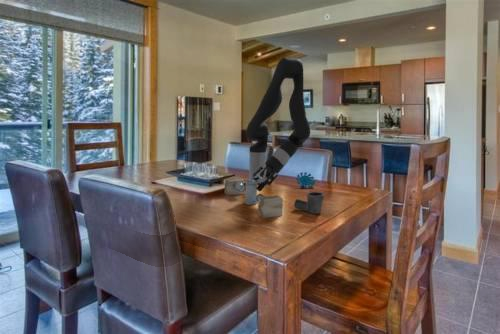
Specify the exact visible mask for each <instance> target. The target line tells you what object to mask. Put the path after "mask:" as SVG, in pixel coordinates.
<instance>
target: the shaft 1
mask: <svg viewBox="0 0 500 334" xmlns="http://www.w3.org/2000/svg"><path fill="white" fill-rule="evenodd" d="M233 188H234V189H235V190H237V191H239V192H244V193H245V192H246V185H245V184H244V185H242V184H240V183H238V182H234V183H233Z"/></svg>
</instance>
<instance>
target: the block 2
mask: <svg viewBox="0 0 500 334" xmlns="http://www.w3.org/2000/svg"><path fill="white" fill-rule="evenodd" d="M283 205H284V198H283V197H282V196H280V195H277V194H273V195H264V196H263V197H258V202H257V214H258V215H259V216H260V217H261V218H263V219H267V218H273V217H282V216H283V209H284V208H283Z"/></svg>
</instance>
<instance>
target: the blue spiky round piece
mask: <svg viewBox="0 0 500 334" xmlns="http://www.w3.org/2000/svg"><path fill="white" fill-rule="evenodd" d="M307 174H308V175H307ZM295 180H296V181H297V182H296V184H297V185H299V187H300V188H302V187H303V188H304V189H307V188H308V189H311V188H312V187H314V185H315V184H316V183H317V181H318V180H317V179H315V177H314V176H313V175H312V174H311V173H307V171H306V172H304V173H303V172H299V174H297V175H296V179H295ZM307 186H308V187H307Z"/></svg>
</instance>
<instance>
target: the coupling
mask: <svg viewBox="0 0 500 334" xmlns="http://www.w3.org/2000/svg"><path fill="white" fill-rule="evenodd" d="M244 185H245V200H244V204H245V205H248V206H254V205H258V202H257V201H256V196H257V195H258V192H257V191H258V190H257V187H258V181H257V180H249V179H245V180H244Z"/></svg>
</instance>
